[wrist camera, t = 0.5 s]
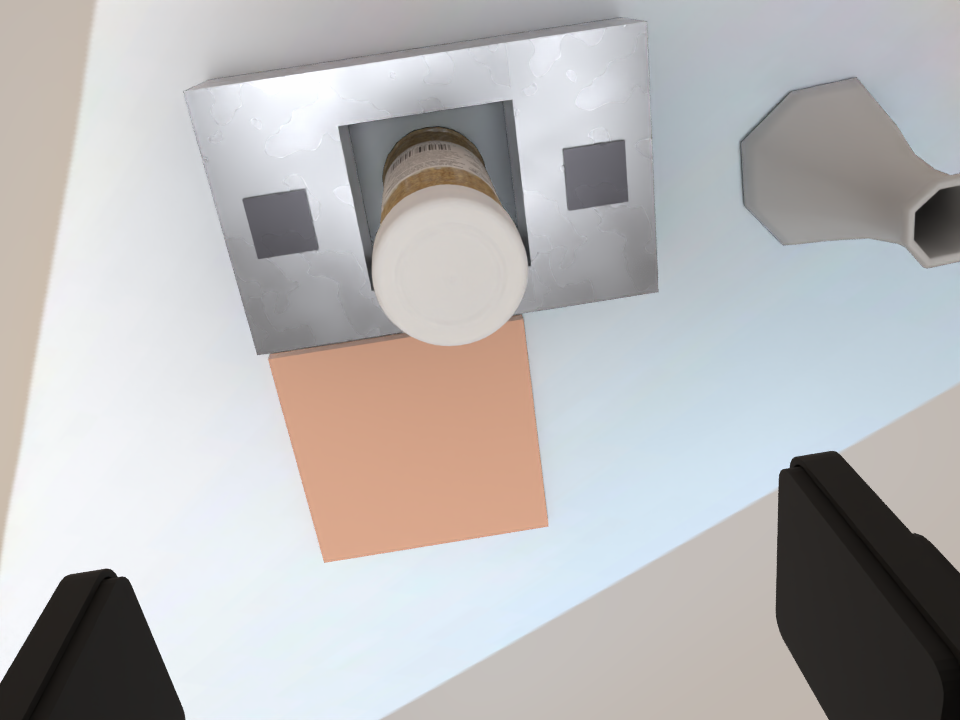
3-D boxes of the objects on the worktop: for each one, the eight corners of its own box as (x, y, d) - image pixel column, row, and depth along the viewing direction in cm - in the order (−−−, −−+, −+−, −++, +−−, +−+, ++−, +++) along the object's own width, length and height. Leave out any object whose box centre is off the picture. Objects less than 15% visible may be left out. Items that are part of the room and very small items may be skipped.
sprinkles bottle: (388, 232, 36) (379, 357, 24) (377, 127, 34) (361, 205, 22) (490, 224, 36) (532, 344, 24) (485, 119, 34) (528, 192, 22)
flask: (866, 45, 34) (1031, 67, 25) (913, 191, 37) (1076, 257, 28) (712, 134, 35) (817, 185, 26) (769, 268, 38) (881, 356, 29)
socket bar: (620, 17, 33) (648, 21, 29) (634, 262, 37) (659, 293, 34) (207, 80, 33) (182, 92, 29) (272, 319, 37) (256, 357, 33)
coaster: (521, 314, 38) (523, 319, 38) (546, 519, 43) (548, 526, 43) (270, 354, 38) (268, 359, 37) (325, 555, 43) (324, 562, 42)
